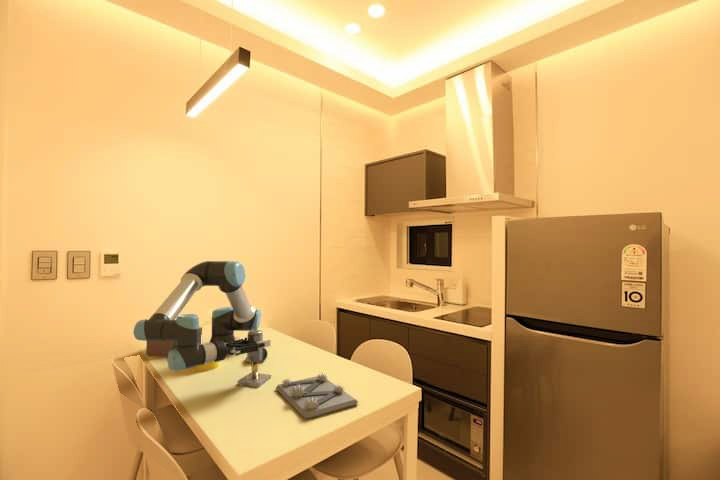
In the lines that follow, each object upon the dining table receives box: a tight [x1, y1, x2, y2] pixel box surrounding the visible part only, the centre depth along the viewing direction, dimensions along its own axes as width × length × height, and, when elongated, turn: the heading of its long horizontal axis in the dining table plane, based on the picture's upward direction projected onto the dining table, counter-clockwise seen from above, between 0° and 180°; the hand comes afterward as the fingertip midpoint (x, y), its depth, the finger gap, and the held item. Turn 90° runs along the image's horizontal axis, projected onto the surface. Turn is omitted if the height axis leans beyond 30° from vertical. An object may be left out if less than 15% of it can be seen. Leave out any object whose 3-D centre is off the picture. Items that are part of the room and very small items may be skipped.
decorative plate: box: [275, 372, 359, 420], centre depth 130 cm, size 30×22×7 cm
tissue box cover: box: [145, 326, 203, 358], centre depth 189 cm, size 26×14×10 cm, turn 171°
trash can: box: [246, 329, 264, 363], centre depth 144 cm, size 8×6×12 cm
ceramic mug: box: [244, 347, 268, 364], centre depth 171 cm, size 11×8×8 cm
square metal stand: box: [237, 362, 272, 388], centre depth 144 cm, size 10×10×10 cm
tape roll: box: [195, 361, 220, 372], centre depth 161 cm, size 10×10×9 cm
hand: (265, 341), depth 148 cm, fingers closed on trash can, 6 cm apart
